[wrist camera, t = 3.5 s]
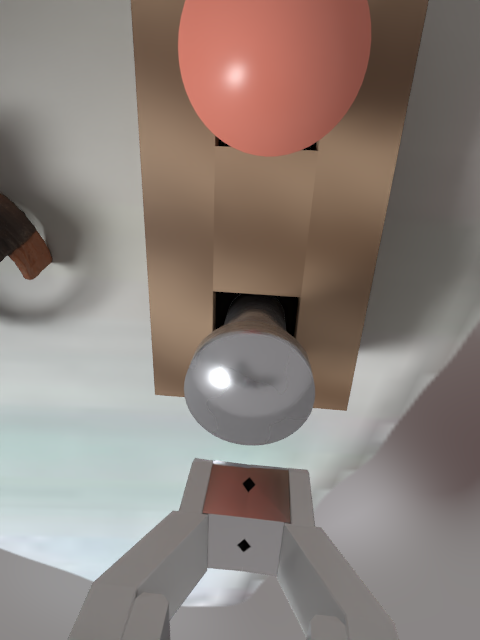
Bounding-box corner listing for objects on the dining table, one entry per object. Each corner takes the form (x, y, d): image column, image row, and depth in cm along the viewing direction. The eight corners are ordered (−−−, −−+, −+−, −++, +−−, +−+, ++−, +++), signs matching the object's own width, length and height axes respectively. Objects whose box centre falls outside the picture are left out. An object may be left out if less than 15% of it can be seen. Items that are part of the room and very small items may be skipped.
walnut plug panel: (172, 8, 17) (126, -61, 12) (385, 13, 17) (439, -56, 11) (180, 342, 25) (155, 394, 19) (329, 353, 24) (346, 410, 19)
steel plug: (212, 272, 18) (182, 330, 12) (305, 278, 18) (323, 341, 12) (211, 352, 20) (185, 439, 14) (295, 359, 20) (306, 450, 14)
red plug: (217, 24, 14) (175, -80, 8) (337, 28, 14) (390, -77, 8) (215, 154, 16) (180, 152, 10) (320, 159, 16) (353, 160, 10)
